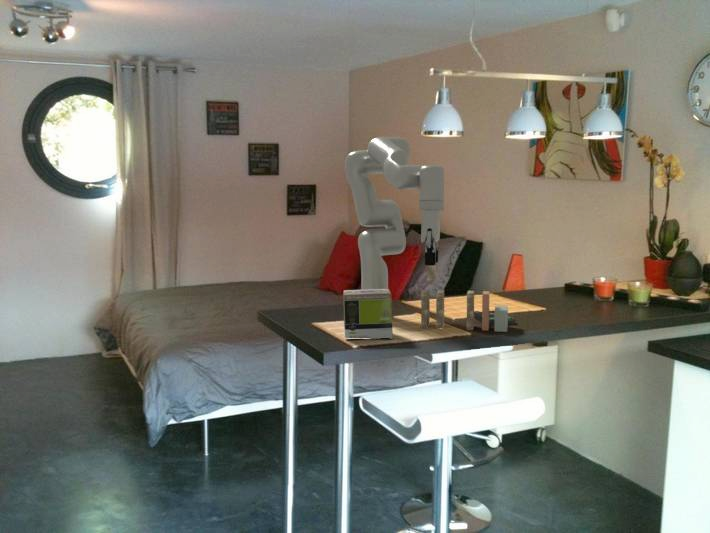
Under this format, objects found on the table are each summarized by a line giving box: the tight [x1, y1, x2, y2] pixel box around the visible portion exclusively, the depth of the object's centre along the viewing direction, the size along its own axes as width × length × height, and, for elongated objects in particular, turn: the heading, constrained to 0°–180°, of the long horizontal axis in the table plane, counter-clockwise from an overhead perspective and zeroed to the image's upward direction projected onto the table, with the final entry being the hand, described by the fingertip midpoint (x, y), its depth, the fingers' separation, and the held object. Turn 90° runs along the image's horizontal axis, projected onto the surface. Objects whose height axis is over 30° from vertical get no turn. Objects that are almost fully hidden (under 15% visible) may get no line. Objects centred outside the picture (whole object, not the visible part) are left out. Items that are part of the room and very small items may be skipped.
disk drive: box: [474, 310, 516, 327], centre depth 249 cm, size 10×3×15 cm
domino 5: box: [481, 290, 490, 331], centre depth 237 cm, size 2×6×12 cm, turn 167°
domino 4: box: [466, 290, 475, 331], centre depth 238 cm, size 2×6×12 cm, turn 167°
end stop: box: [493, 305, 509, 333], centre depth 236 cm, size 4×8×7 cm, turn 167°
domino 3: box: [435, 289, 445, 328], centre depth 240 cm, size 2×6×12 cm, turn 167°
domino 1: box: [420, 289, 431, 329], centre depth 241 cm, size 2×6×12 cm, turn 167°
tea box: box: [342, 288, 394, 340], centre depth 227 cm, size 15×10×15 cm, turn 92°
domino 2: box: [426, 244, 437, 285], centre depth 224 cm, size 2×6×12 cm, turn 167°
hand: (431, 263), depth 224 cm, fingers closed on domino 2, 6 cm apart
